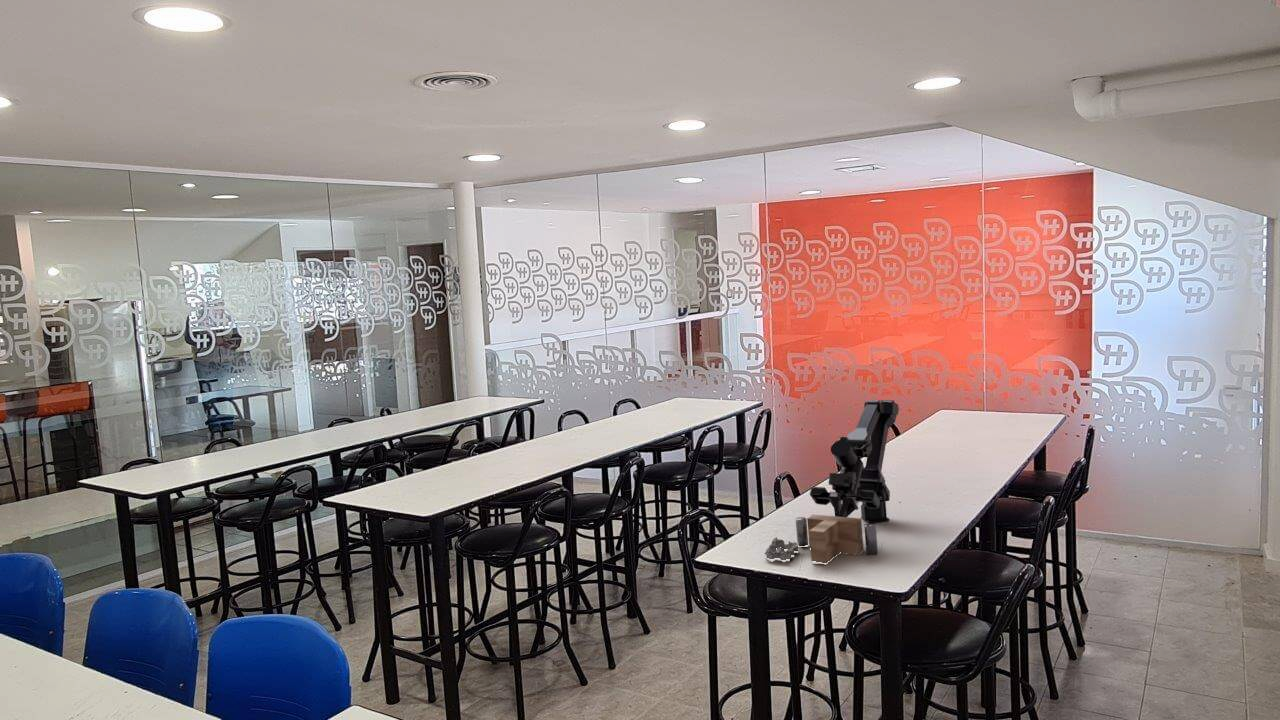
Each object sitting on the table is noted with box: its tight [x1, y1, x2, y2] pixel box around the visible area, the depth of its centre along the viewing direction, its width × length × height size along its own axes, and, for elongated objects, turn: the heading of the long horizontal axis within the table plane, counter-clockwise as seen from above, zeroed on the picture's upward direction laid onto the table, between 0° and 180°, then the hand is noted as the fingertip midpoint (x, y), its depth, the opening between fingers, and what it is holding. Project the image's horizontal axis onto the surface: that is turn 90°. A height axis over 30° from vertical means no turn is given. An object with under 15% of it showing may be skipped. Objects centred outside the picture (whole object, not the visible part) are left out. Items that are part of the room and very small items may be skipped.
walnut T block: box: [806, 514, 865, 563], centre depth 230 cm, size 14×14×9 cm
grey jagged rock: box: [764, 536, 799, 560], centre depth 234 cm, size 11×8×4 cm
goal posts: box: [795, 516, 879, 556], centre depth 234 cm, size 3×23×8 cm, turn 55°
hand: (837, 524), depth 235 cm, fingers closed, pressing on walnut T block
